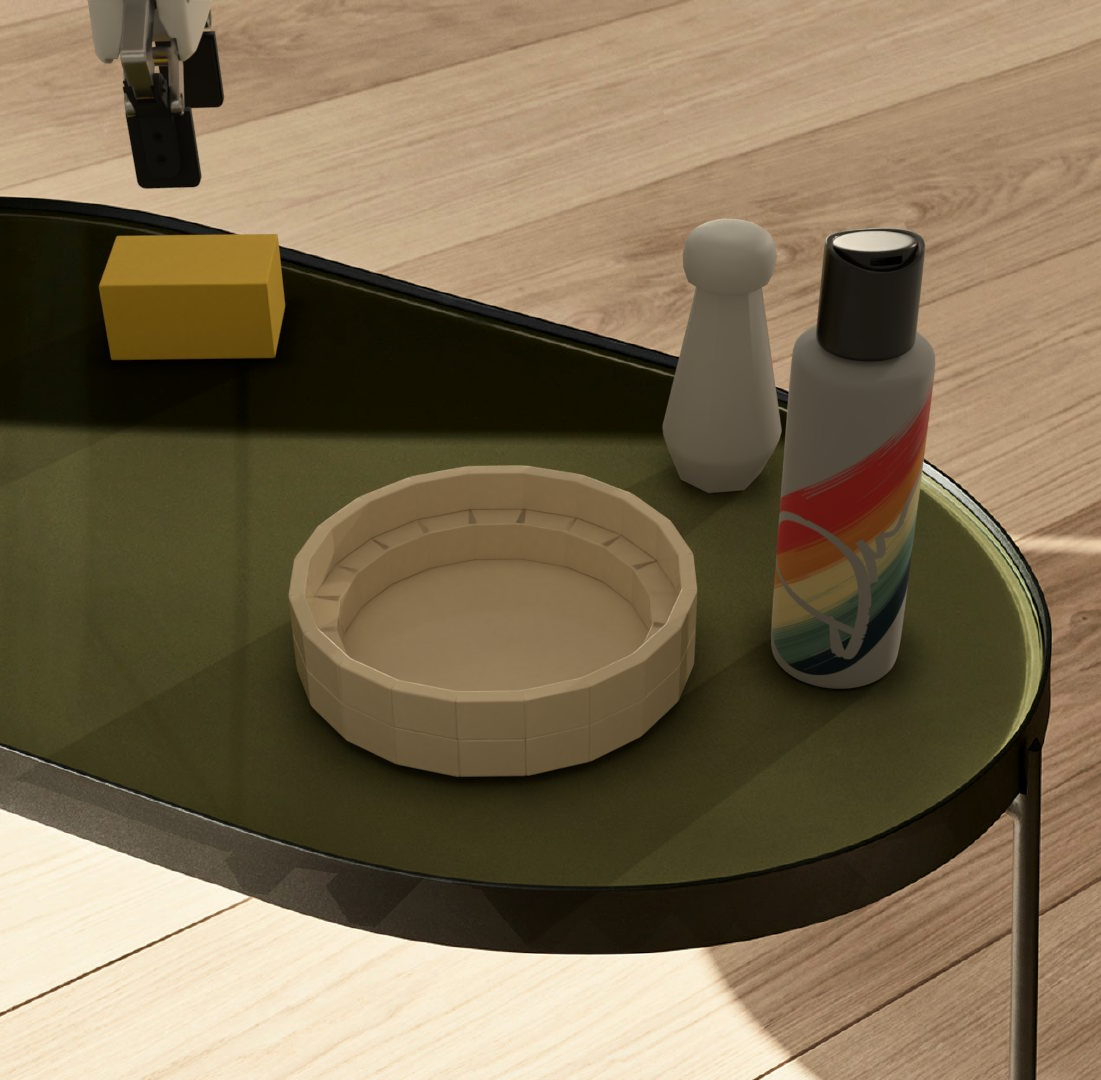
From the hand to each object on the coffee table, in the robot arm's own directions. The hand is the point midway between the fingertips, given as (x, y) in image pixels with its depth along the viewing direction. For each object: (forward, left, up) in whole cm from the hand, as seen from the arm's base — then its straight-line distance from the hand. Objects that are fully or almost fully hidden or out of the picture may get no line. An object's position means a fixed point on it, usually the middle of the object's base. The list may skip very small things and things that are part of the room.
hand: (183, 144), depth 105 cm
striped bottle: (+32, -30, -11) cm, 45 cm away
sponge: (0, 0, -11) cm, 11 cm away
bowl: (+17, -30, -11) cm, 36 cm away
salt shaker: (+28, -15, -11) cm, 33 cm away
